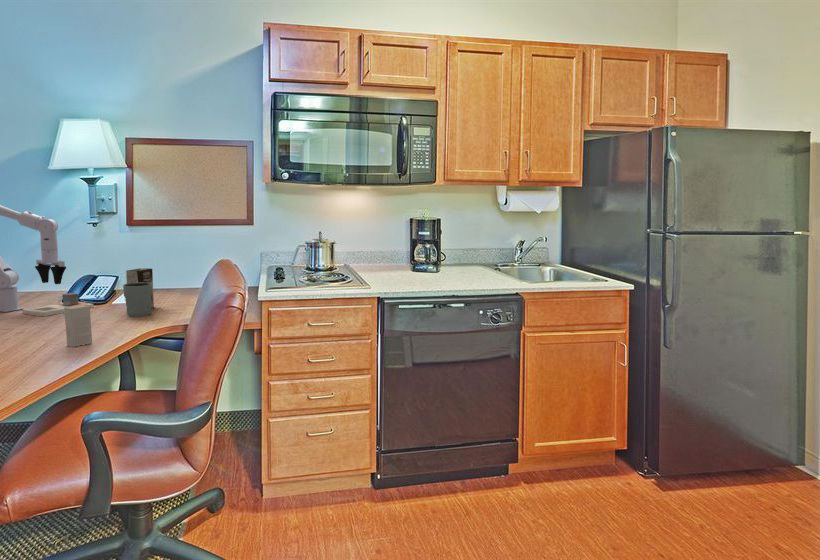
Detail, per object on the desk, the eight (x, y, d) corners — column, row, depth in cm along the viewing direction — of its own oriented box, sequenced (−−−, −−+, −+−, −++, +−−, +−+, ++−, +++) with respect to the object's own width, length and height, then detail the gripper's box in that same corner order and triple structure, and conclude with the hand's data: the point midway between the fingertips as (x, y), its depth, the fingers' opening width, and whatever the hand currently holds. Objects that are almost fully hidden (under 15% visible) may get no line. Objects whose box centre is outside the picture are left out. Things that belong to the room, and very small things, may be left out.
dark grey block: (63, 309, 263) (62, 294, 262) (72, 307, 266) (71, 292, 266) (70, 309, 261) (69, 295, 260) (78, 308, 265) (78, 293, 264)
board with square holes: (22, 313, 252) (22, 309, 252) (73, 305, 271) (73, 301, 271) (43, 316, 247) (43, 312, 246) (94, 307, 266) (93, 303, 266)
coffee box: (141, 310, 260) (139, 270, 258) (127, 310, 262) (125, 270, 260) (154, 307, 269) (153, 268, 267) (140, 306, 271) (139, 267, 268)
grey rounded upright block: (158, 313, 255) (157, 283, 254) (140, 317, 246) (138, 286, 244) (137, 311, 259) (136, 281, 257) (118, 316, 249) (117, 285, 248)
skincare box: (85, 341, 206) (83, 304, 205) (92, 343, 204) (90, 306, 202) (66, 345, 201) (63, 307, 200) (73, 347, 199) (71, 308, 197)
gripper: (70, 249, 259) (72, 283, 261) (46, 247, 266) (49, 280, 267) (54, 250, 253) (56, 285, 255) (30, 249, 259) (32, 283, 261)
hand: (51, 283), depth 261 cm, fingers open, 7 cm apart
